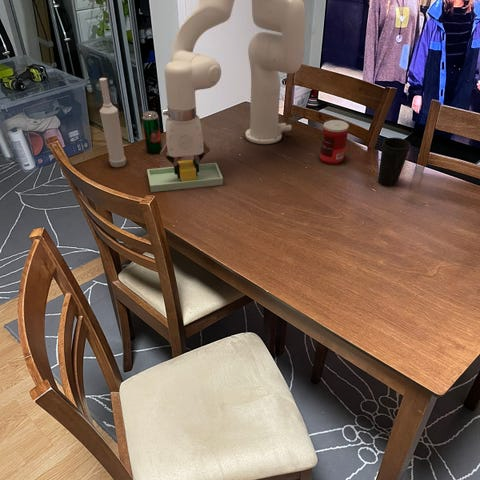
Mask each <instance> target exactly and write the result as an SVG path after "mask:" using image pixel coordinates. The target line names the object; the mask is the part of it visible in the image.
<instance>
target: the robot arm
mask: <svg viewBox="0 0 480 480" xmlns="http://www.w3.org/2000/svg"><path fill="white" fill-rule="evenodd" d="M234 4H235V0H199V2H198V5H197V7H196V8H195V9H194V10H193V11H191V13H190V14H189V15H188V17H187V18H186V19H185V20H184V21H183V23H182V24H181V26H180V27H179V28H178V31H177V33H176V35H175V37H174V41H173V45H172V51H171V54H170V61H169V62H168V63H166V64H165V66H164V71H163V72H164V80H165V90H166V91H165V92H166V103H167V107H166V108H165V109H162V115H163V116H167V117H166V121H165V144H164V145H163V146H162V150H161V151H160V152H159V154H160V157H162V158H164V159H166V160H167V161H168V162H170V163H171V164H172V165H173V167H174V172H175V175H176V174H177V177H178V178H180V170H179V168H180V167H179V163H178V161H179V159H178V157H180V158H182V157H183V158H184V157H191V156H193V159H192V161H193V164H194V166H195V169H196V176H197V172H199V164H201V161H202V159H203V158H204V157H205V156H206V155H208V154H209V153H210V152H211V149H210V146H208V145H207V143H206V142H205V141H204V137H203V129H202V128H203V127H202V124H201V119H200V116H199V115H198V114H197V101H196V91H199V90H207V89H211V88H214V87H215V86H216V85H217V84H218V83H219V81H220V80H221V77H222V67H221V65H220V63H219V62H218V61H217V60H216V59H215V58H213V57H210V56H207V55H204V54H200V53H195V52H194V49H195V46H196V43H197V42H198V40H199V39H200V37H201V36H202V35H203V34H204V33H205V32H207V31H209V30H210V29H212V28H214V27H217V26H219V25H221V24H224V23H226V22H228V21H229V20H230V18H231V15H232V12H233V8H234ZM251 13H252V14H251V15H252V21H253V24H254V25H255V26H256V27H257V28H259V29H262V30H265V31H260V32H257V33H254V35H253V36H252V37H251V39H250V41H249V43H248V47H247V48H248V49H247V53H248V54H247V56H248V61H249V69H250V107H249V108H250V111H249V128H248V129H247V130H246V131H245V134H244V136H245V139H246V140H247V141H248V142H251V143H254V144H258V145H270V144H274V143H275V144H276V143H278V142H279V141H281V139H282V137H283V132H291V131H292V128H293V127H292V125H291V124H287V123H286V122H281V123H280V122H279V115H280V114H279V113H280V97H281V78H280V75H279V73H283V74H288V75H292V74H295V73H297V72H298V71H299V70H301V67H302V65H303V62H304V58H305V57H304V56H305V46H306V45H305V43H306V22H307V19H306V16H307V15H306V6H305V3H304V0H251ZM267 31H271V32H267ZM273 32H275V33H273ZM276 32H277V33H281V34H277V33H276Z"/></svg>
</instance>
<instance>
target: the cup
mask: <svg viewBox="0 0 480 480" xmlns="http://www.w3.org/2000/svg"><path fill="white" fill-rule="evenodd" d="M381 145H382V146H381V153H380V160H379V161H380V163H379V170H378V176H377V177H378V178H377V183H378V184H379V185H380V186H382V187H386V188H393V187H395V186H397V184H398V182H399V179H400V176H401V173H402V171H403V168H404V166H405V164H406V160H407V157H408V154H409V151H410V149H411V146H412V145H411V143H410V142H409V140H407V139H405V138H401V137H387V138H385V139H383V141H382V144H381Z"/></svg>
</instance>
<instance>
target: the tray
mask: <svg viewBox="0 0 480 480" xmlns="http://www.w3.org/2000/svg"><path fill="white" fill-rule="evenodd" d="M146 173H147V178H148V184H149V189H150V193H158V192H168V191H174V190H175V191H176V190H185V189H186V190H187V189H196V188H206V187H214V186H223V185H224V178H223V175H222V173H221V170H220V168H219V165H218V163H217V162H209V163H208V162H207V163H199V172H197V176H196V179H197V180H192V181H182V182H181V180H180V178H178V177H177V174H176V175H175V172H174V166H167V167H158V168H157V167H156V168H148V169H147V170H146Z"/></svg>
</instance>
